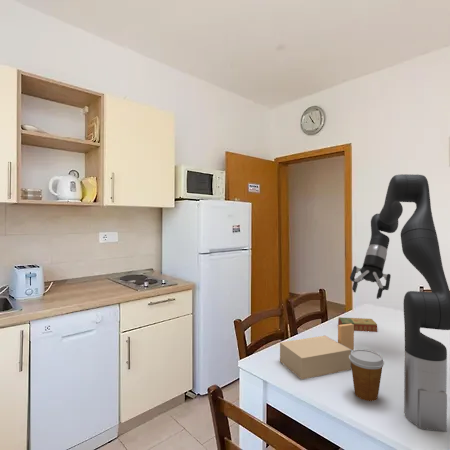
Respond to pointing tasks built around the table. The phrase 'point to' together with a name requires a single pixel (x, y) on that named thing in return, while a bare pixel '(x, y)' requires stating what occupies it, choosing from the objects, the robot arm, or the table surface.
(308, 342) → the box lid
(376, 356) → the disposable coffee cup
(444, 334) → the table surface
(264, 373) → the table surface
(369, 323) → the carton
